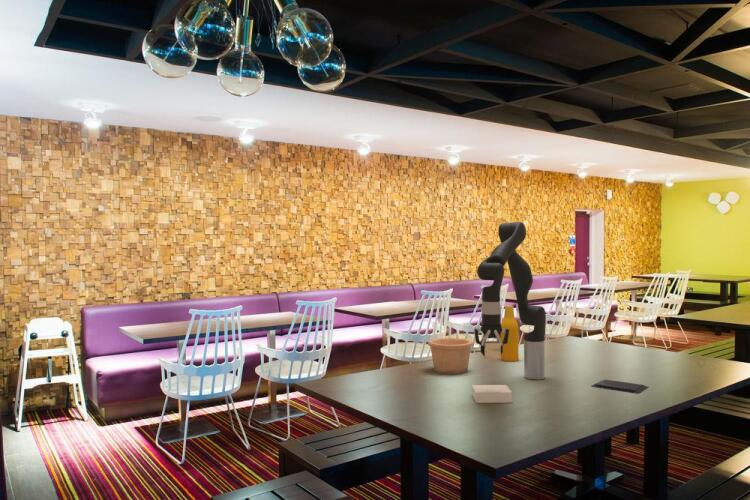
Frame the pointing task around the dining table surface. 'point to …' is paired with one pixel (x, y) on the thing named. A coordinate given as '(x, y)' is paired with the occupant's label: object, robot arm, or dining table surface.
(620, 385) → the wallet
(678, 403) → the dining table surface
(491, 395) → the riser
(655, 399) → the dining table surface
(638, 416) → the dining table surface
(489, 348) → the maple cube
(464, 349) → the pottery
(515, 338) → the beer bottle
